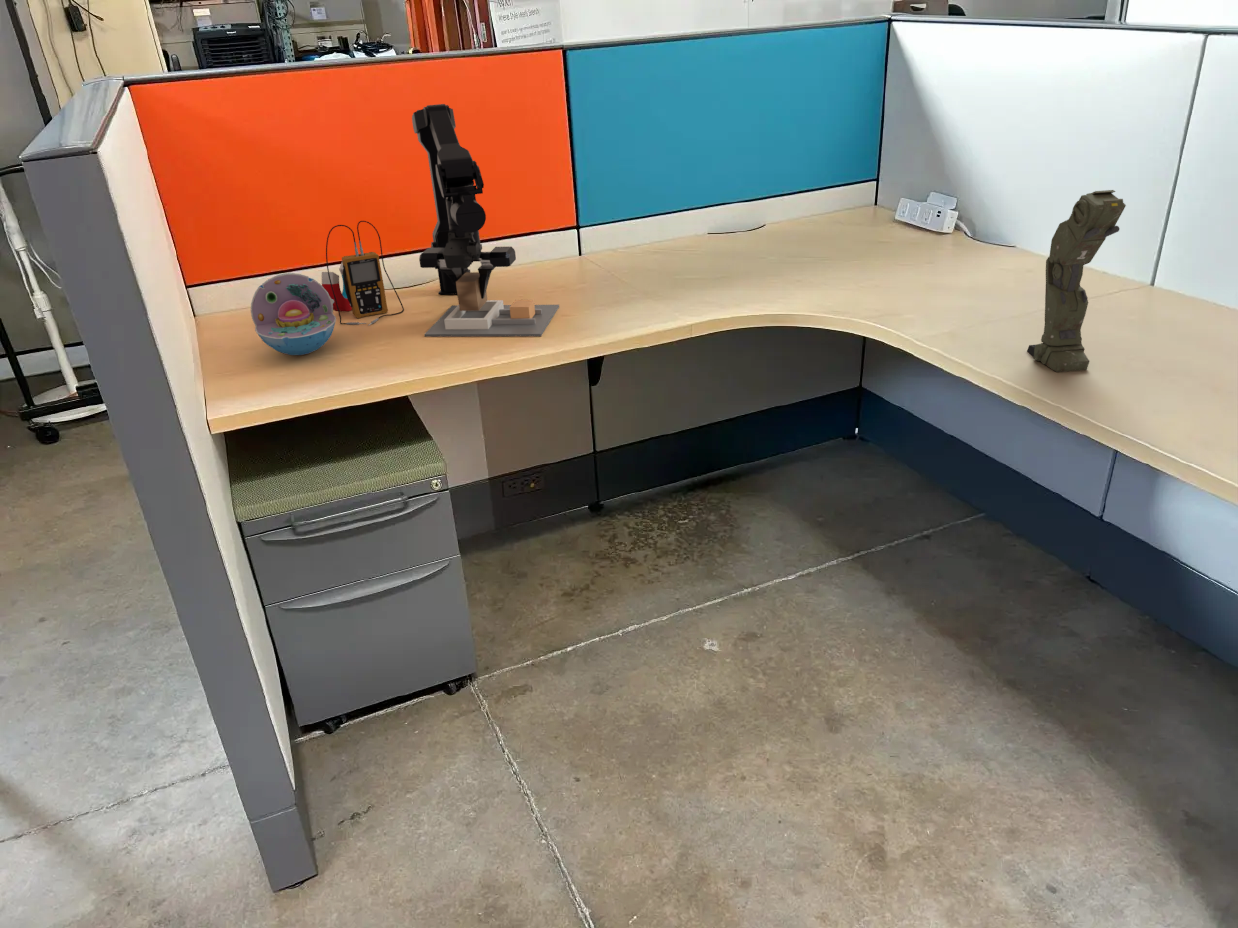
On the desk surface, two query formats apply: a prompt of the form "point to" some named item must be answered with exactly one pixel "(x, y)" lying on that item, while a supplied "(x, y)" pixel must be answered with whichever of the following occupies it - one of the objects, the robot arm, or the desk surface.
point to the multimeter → (363, 282)
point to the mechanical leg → (1073, 279)
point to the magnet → (336, 290)
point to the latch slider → (522, 309)
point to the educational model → (293, 314)
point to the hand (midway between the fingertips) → (472, 298)
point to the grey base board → (491, 321)
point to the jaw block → (470, 292)
